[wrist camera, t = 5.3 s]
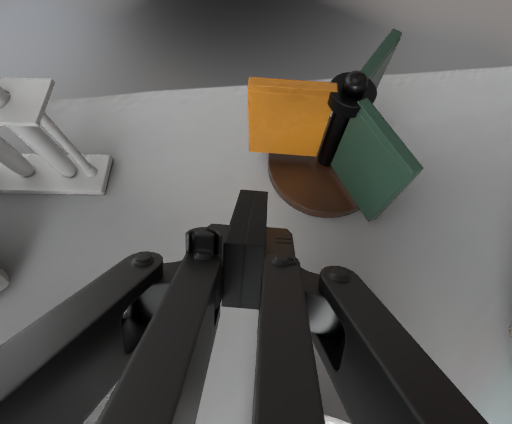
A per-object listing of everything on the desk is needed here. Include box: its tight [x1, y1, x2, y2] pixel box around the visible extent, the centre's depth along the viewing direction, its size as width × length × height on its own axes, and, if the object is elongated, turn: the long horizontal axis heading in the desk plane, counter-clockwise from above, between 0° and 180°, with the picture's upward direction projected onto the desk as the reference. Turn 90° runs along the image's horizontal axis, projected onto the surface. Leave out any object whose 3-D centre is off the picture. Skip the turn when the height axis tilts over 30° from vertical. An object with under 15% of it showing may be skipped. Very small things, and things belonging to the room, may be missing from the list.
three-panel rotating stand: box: [248, 29, 423, 222], centre depth 27 cm, size 14×14×11 cm
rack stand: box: [268, 117, 360, 218], centre depth 33 cm, size 12×12×1 cm
